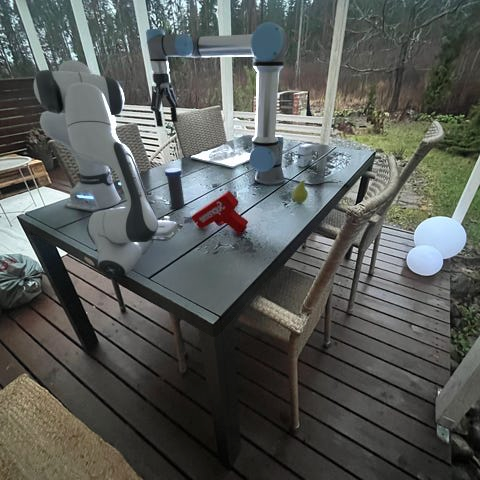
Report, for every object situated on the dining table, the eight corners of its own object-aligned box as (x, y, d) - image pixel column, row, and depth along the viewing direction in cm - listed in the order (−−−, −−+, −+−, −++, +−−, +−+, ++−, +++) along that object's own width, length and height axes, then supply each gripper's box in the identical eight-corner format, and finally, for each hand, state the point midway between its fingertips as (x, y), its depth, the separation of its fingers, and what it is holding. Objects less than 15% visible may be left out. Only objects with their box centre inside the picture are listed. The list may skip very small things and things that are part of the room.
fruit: (288, 200, 123) (290, 174, 116) (302, 197, 125) (305, 172, 119) (296, 206, 118) (299, 179, 111) (310, 203, 120) (314, 177, 114)
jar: (169, 207, 118) (163, 171, 110) (177, 202, 122) (172, 167, 113) (178, 210, 116) (173, 174, 107) (187, 205, 120) (182, 170, 111)
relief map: (232, 167, 162) (232, 159, 160) (191, 158, 180) (190, 150, 177) (257, 157, 181) (258, 149, 178) (218, 149, 198) (217, 142, 196)
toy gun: (254, 223, 98) (229, 189, 94) (251, 228, 95) (225, 194, 91) (219, 242, 108) (195, 212, 104) (215, 247, 105) (190, 217, 101)
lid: (162, 175, 110) (161, 170, 109) (173, 171, 115) (172, 166, 114) (174, 178, 107) (173, 173, 106) (184, 173, 112) (184, 168, 111)
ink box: (304, 162, 171) (306, 143, 164) (310, 164, 168) (313, 144, 161) (296, 165, 166) (298, 145, 159) (302, 167, 163) (305, 147, 156)
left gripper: (168, 231, 82) (182, 211, 93) (104, 227, 84) (126, 208, 96) (171, 248, 85) (184, 227, 97) (110, 244, 87) (130, 223, 99)
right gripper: (168, 72, 132) (174, 119, 143) (136, 73, 112) (146, 128, 123) (181, 72, 130) (186, 120, 141) (151, 73, 110) (160, 129, 121)
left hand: (155, 217), depth 96 cm, fingers open, 8 cm apart
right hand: (167, 124), depth 132 cm, fingers open, 13 cm apart
